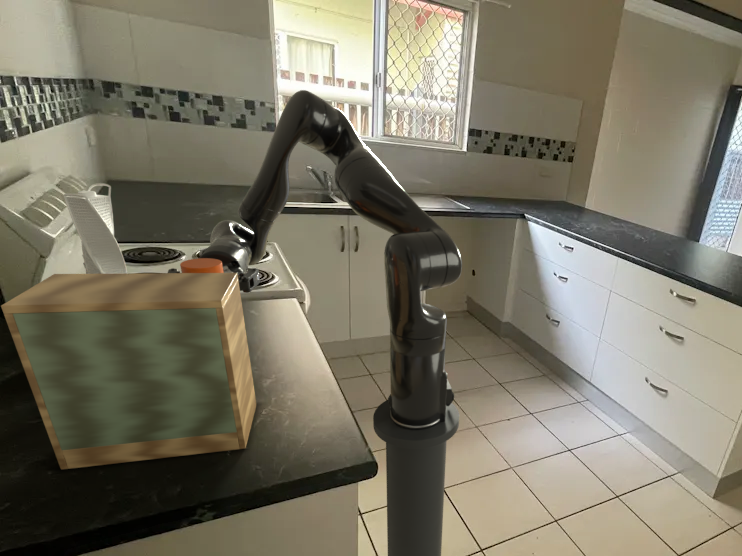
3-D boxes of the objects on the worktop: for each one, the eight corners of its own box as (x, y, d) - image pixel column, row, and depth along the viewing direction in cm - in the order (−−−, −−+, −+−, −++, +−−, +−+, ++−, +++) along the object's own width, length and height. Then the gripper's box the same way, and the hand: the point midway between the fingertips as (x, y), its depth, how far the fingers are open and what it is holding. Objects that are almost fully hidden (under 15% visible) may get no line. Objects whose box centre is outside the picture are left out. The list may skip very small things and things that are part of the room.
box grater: (139, 303, 113) (109, 180, 101) (142, 314, 107) (111, 186, 96) (93, 308, 108) (56, 180, 96) (93, 320, 102) (55, 186, 91)
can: (234, 319, 82) (225, 258, 77) (228, 333, 77) (217, 268, 73) (197, 321, 80) (185, 257, 76) (189, 334, 75) (175, 268, 71)
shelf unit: (256, 404, 79) (237, 272, 70) (245, 448, 69) (221, 300, 60) (98, 418, 72) (53, 273, 63) (60, 469, 62) (0, 305, 53)
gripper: (175, 244, 84) (142, 272, 70) (264, 245, 89) (250, 272, 75) (182, 284, 88) (153, 319, 73) (268, 283, 92) (256, 316, 78)
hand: (202, 295), depth 74 cm, fingers closed on can, 5 cm apart
